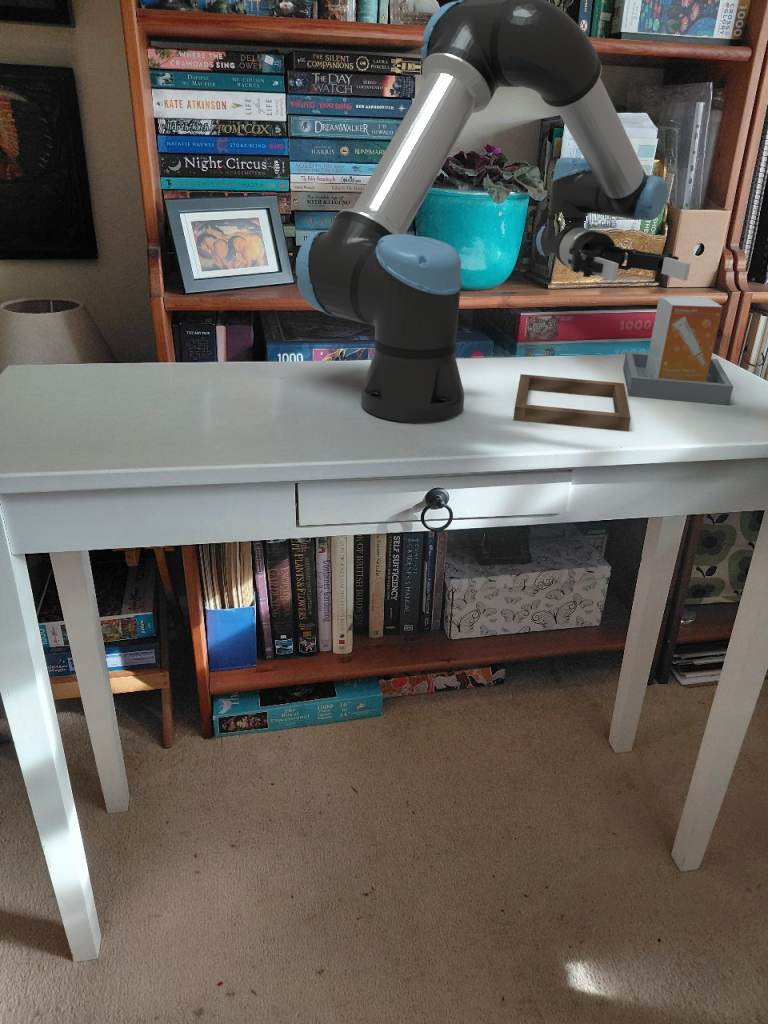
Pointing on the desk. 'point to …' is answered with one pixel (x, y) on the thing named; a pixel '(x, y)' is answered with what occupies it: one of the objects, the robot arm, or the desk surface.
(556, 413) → the walnut frame
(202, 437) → the desk surface
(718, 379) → the slate tray
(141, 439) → the desk surface
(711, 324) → the small box
